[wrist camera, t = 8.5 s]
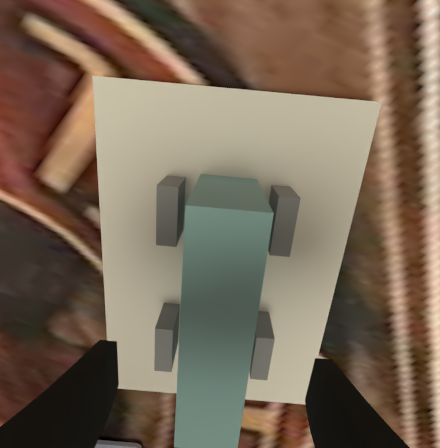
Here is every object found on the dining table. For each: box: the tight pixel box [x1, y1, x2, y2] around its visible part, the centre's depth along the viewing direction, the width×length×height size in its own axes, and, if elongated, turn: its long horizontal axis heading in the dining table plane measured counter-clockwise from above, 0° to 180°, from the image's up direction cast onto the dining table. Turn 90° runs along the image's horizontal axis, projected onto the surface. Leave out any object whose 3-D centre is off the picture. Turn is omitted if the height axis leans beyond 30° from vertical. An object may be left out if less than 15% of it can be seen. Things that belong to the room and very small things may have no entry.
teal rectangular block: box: [174, 174, 274, 448], centre depth 15 cm, size 3×12×6 cm, turn 175°
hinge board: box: [92, 76, 382, 404], centre depth 17 cm, size 14×20×4 cm
